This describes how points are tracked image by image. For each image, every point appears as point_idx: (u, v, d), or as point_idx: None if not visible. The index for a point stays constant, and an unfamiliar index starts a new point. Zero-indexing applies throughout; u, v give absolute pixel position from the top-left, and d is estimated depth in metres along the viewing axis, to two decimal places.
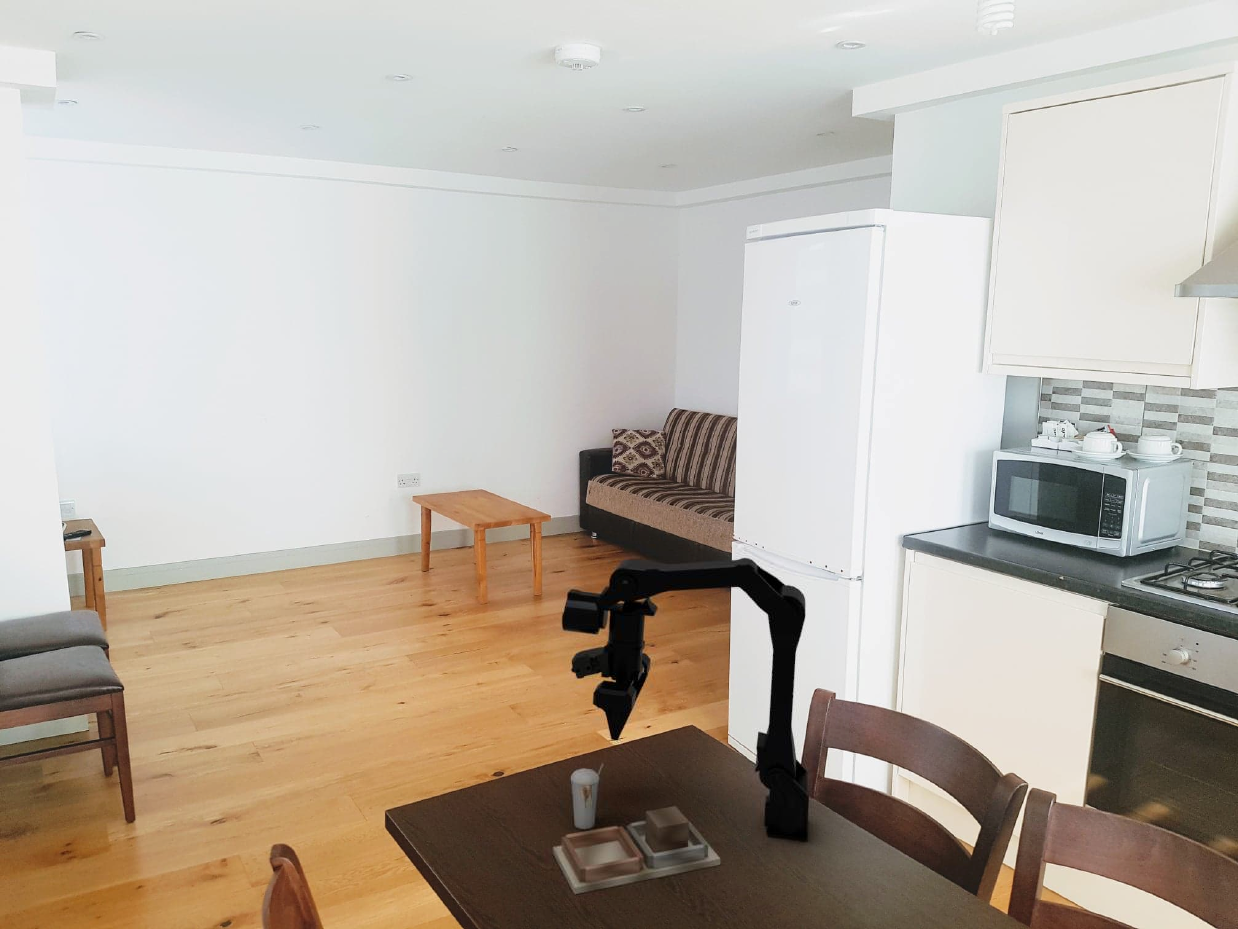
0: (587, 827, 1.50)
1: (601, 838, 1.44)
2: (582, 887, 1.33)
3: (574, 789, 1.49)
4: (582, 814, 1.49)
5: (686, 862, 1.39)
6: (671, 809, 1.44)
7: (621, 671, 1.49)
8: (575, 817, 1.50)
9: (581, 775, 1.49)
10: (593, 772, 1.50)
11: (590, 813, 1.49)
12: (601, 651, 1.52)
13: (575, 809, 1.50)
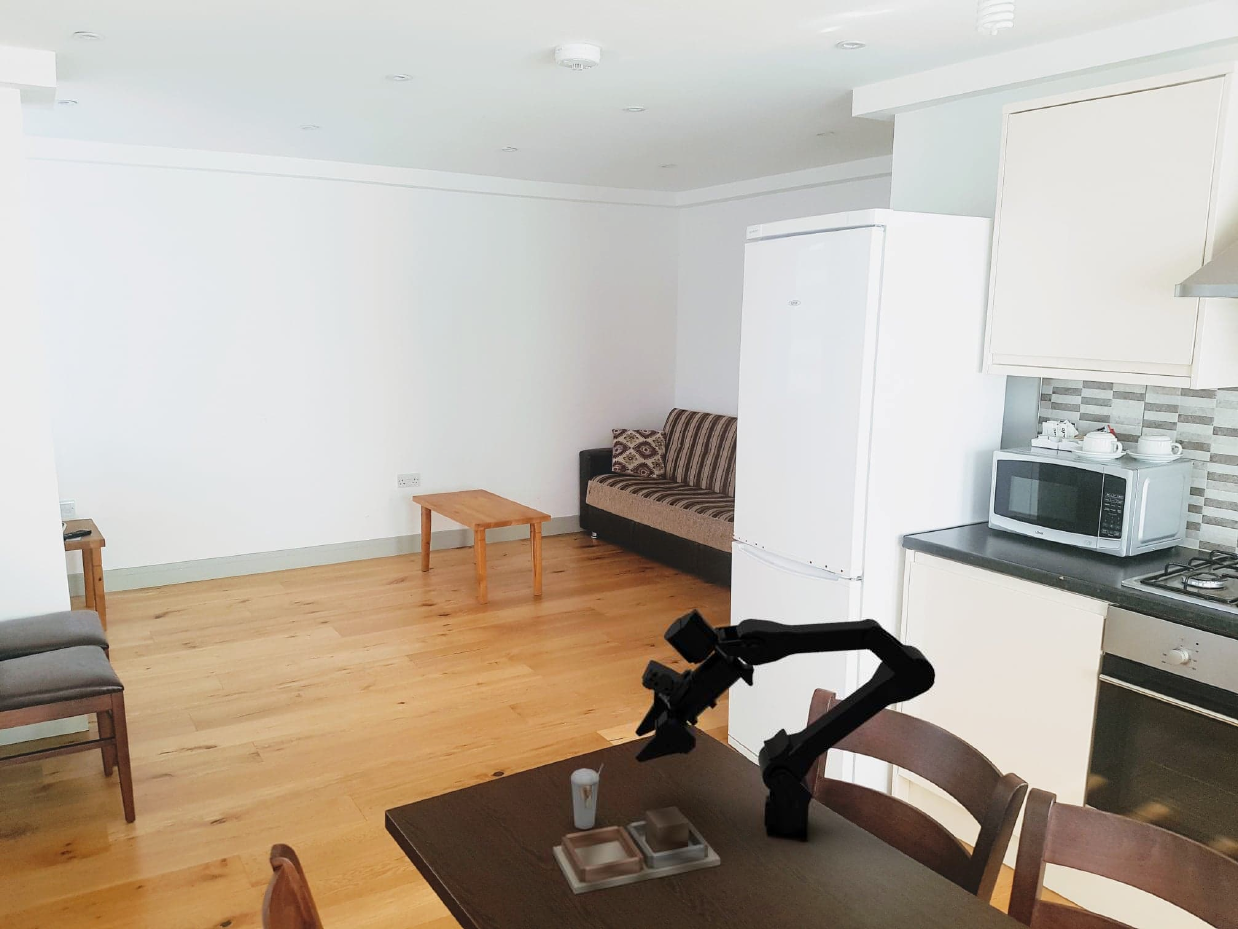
0: (587, 827, 1.50)
1: (601, 838, 1.44)
2: (582, 887, 1.33)
3: (574, 789, 1.49)
4: (582, 814, 1.49)
5: (686, 862, 1.39)
6: (671, 809, 1.44)
7: (688, 709, 1.45)
8: (575, 817, 1.50)
9: (581, 775, 1.49)
10: (593, 772, 1.50)
11: (590, 813, 1.49)
12: (679, 678, 1.47)
13: (575, 809, 1.50)
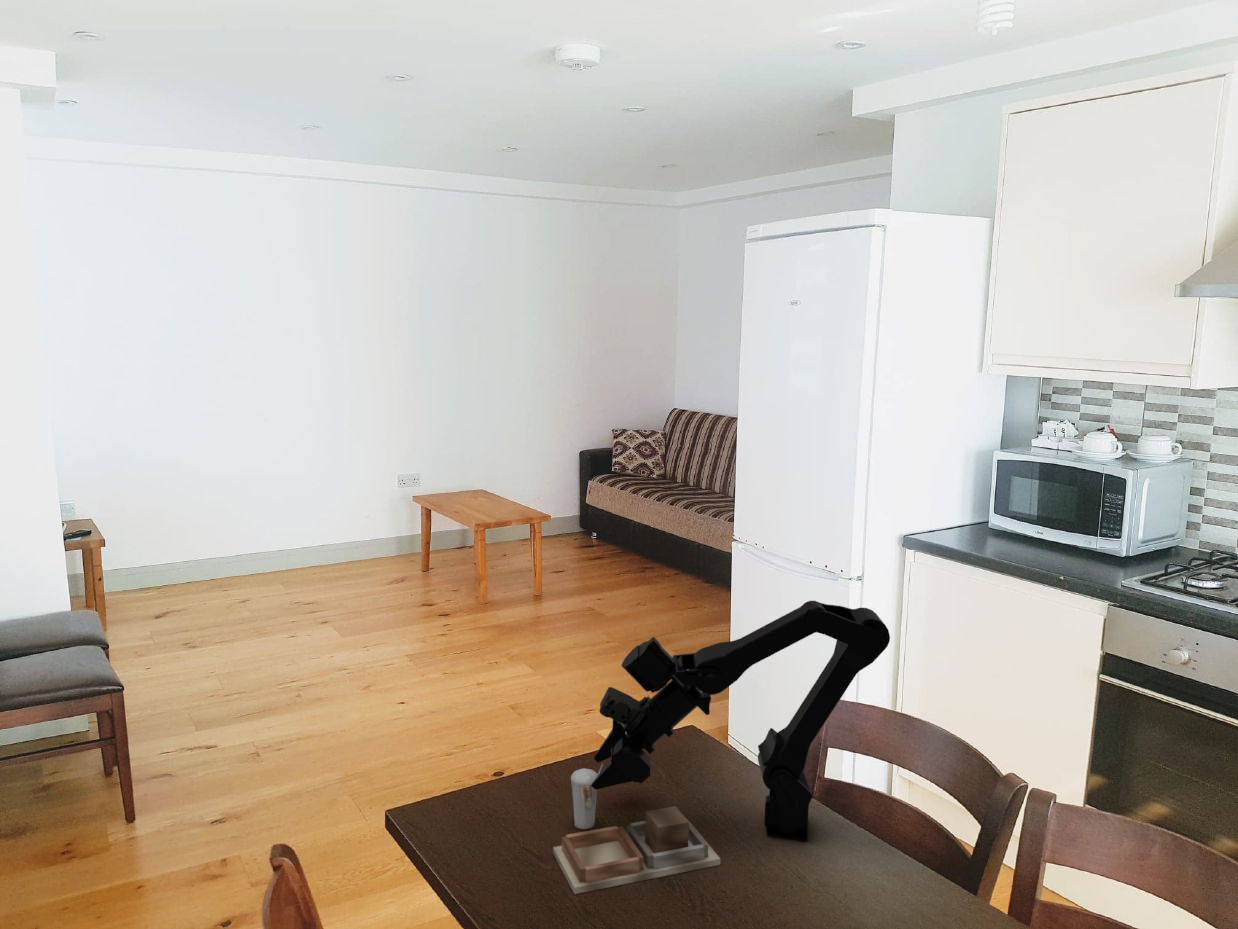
0: (587, 827, 1.50)
1: (601, 838, 1.44)
2: (582, 887, 1.33)
3: (574, 789, 1.49)
4: (582, 814, 1.49)
5: (686, 862, 1.39)
6: (671, 809, 1.44)
7: (644, 737, 1.46)
8: (575, 817, 1.50)
9: (581, 775, 1.49)
10: (593, 772, 1.50)
11: (590, 813, 1.49)
12: (636, 705, 1.48)
13: (575, 809, 1.50)
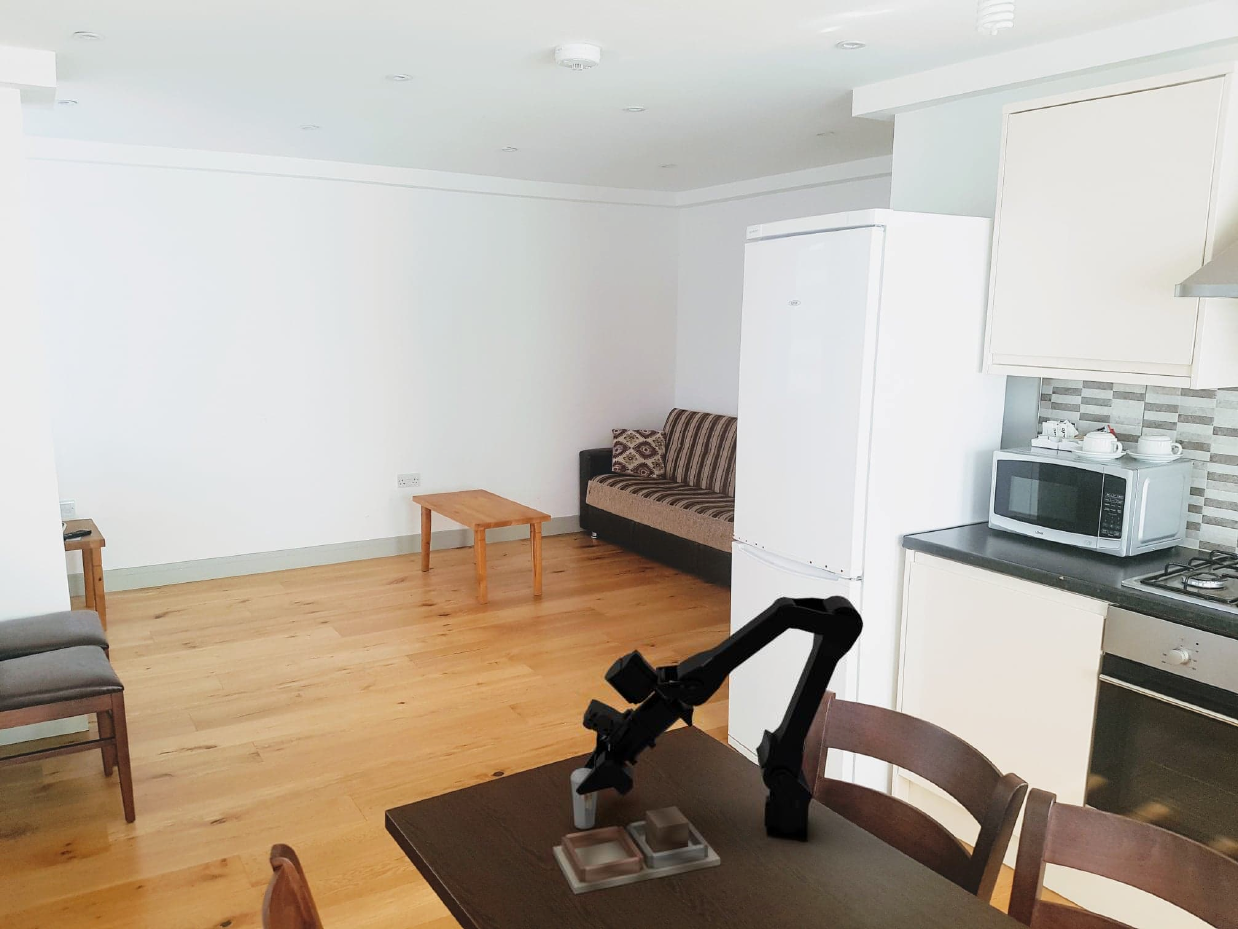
0: (587, 827, 1.50)
1: (601, 838, 1.44)
2: (582, 887, 1.33)
3: (574, 788, 1.49)
4: (582, 813, 1.49)
5: (686, 862, 1.39)
6: (671, 809, 1.44)
7: (628, 749, 1.46)
8: (575, 817, 1.50)
9: (581, 774, 1.49)
10: None
11: (590, 812, 1.49)
12: (619, 718, 1.48)
13: (575, 809, 1.50)
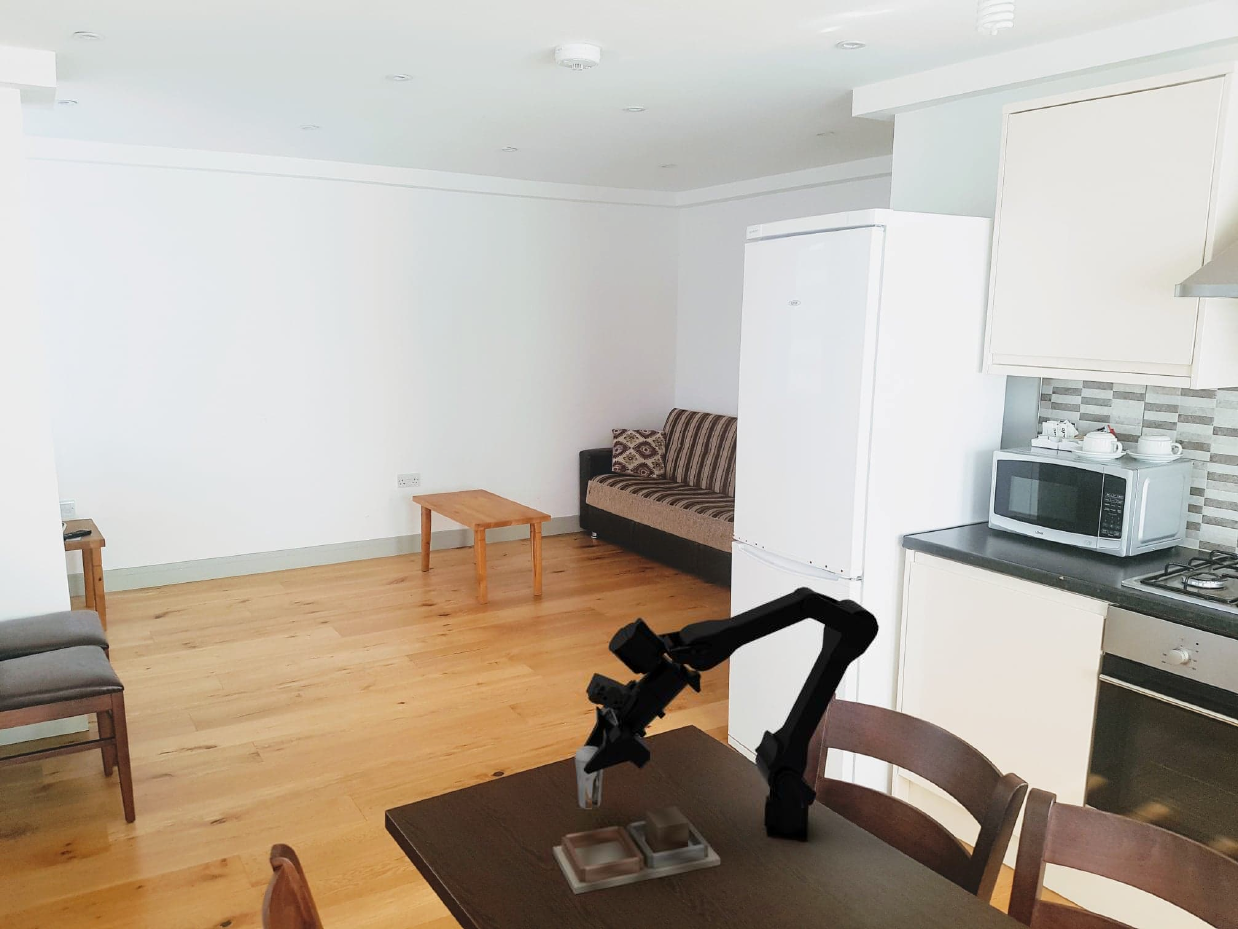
0: (594, 806, 1.43)
1: (601, 838, 1.44)
2: (582, 887, 1.33)
3: (580, 768, 1.42)
4: (589, 793, 1.42)
5: (686, 862, 1.39)
6: (671, 809, 1.44)
7: (637, 721, 1.41)
8: (581, 797, 1.43)
9: (587, 753, 1.42)
10: None
11: (597, 791, 1.43)
12: (625, 690, 1.42)
13: (581, 789, 1.43)
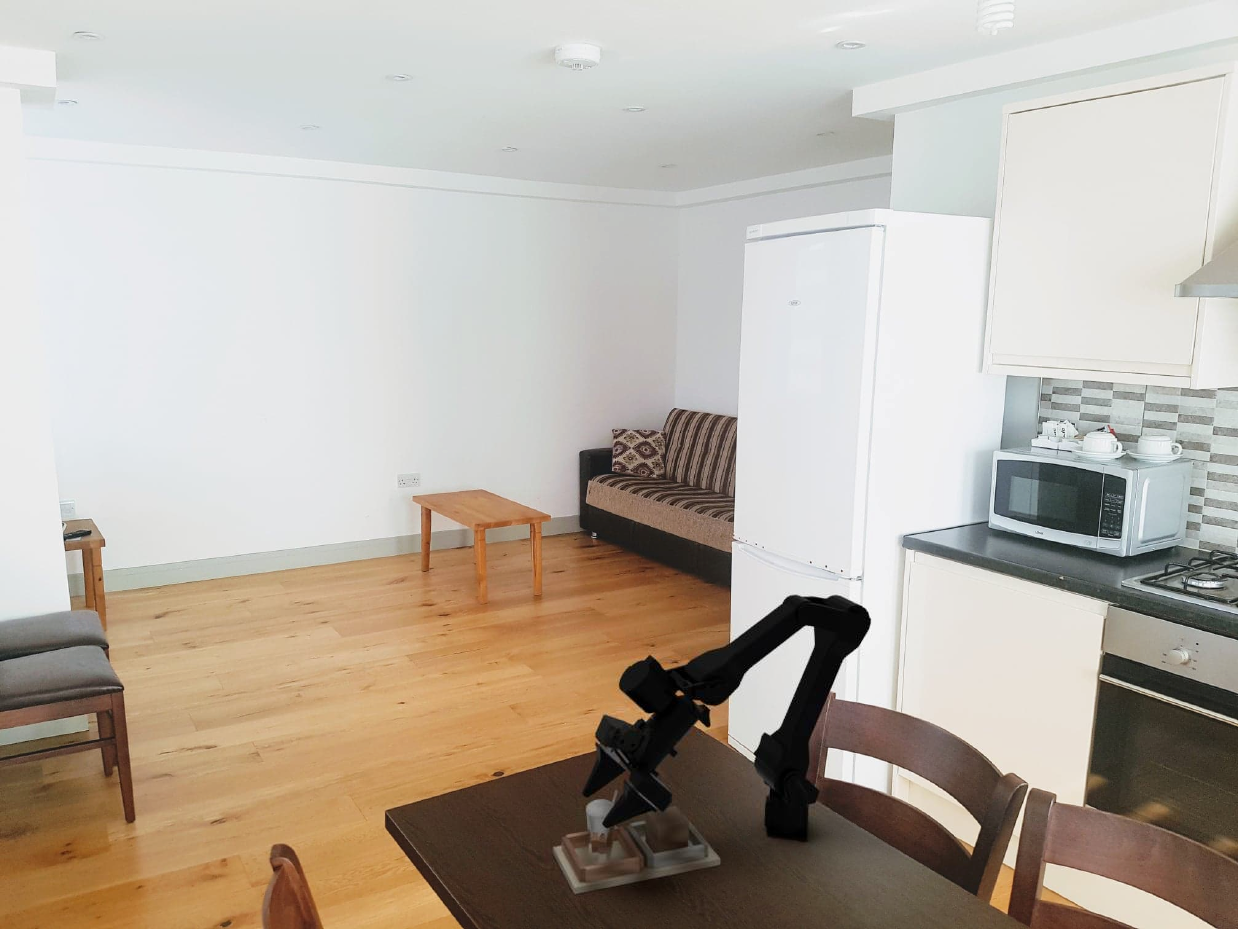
0: None
1: None
2: (582, 887, 1.33)
3: (594, 824, 1.36)
4: (603, 849, 1.37)
5: (686, 862, 1.39)
6: (671, 809, 1.44)
7: (651, 762, 1.37)
8: (594, 854, 1.38)
9: (600, 807, 1.37)
10: (609, 802, 1.39)
11: (610, 846, 1.38)
12: (636, 730, 1.38)
13: (594, 845, 1.37)
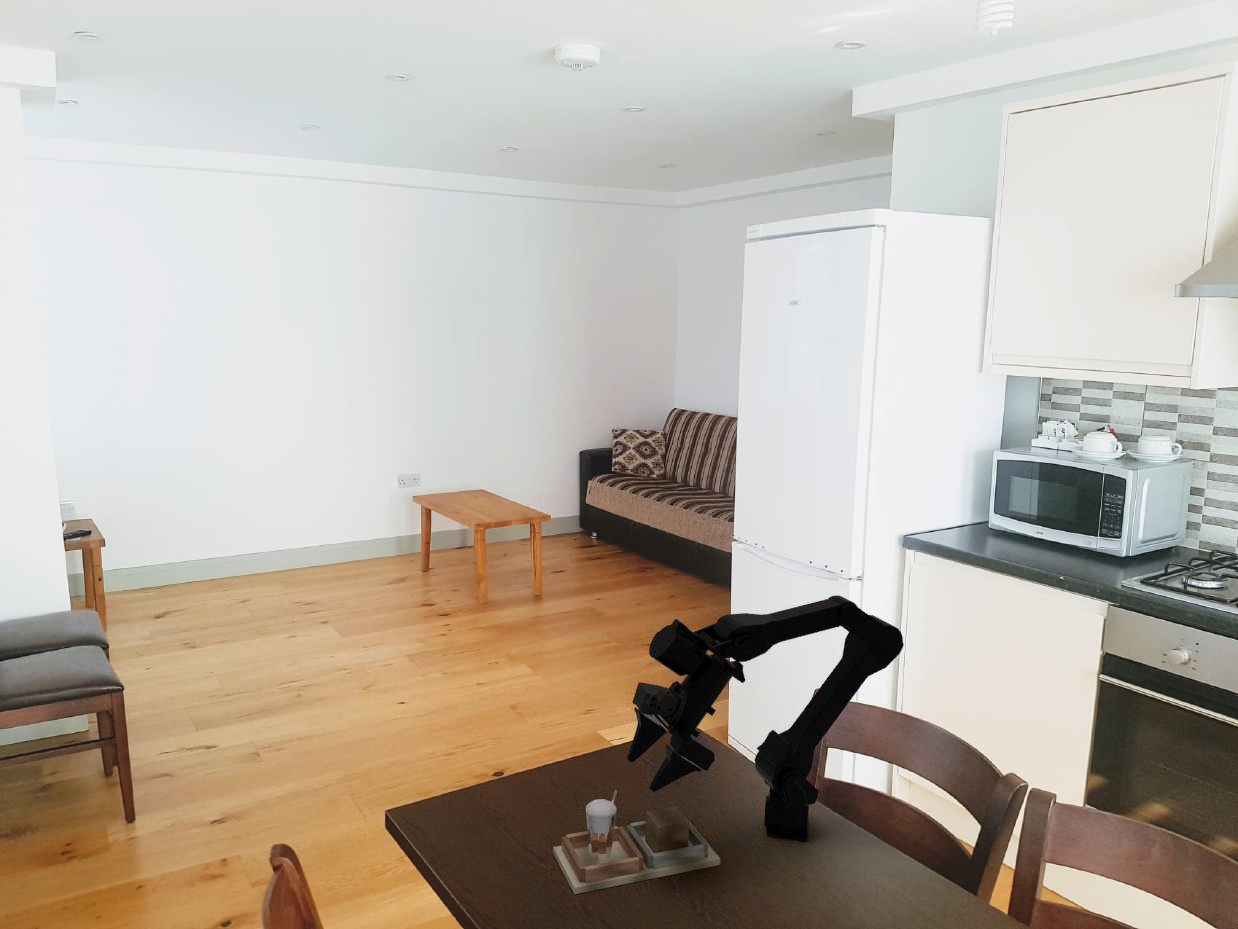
0: None
1: None
2: (582, 887, 1.33)
3: (594, 824, 1.36)
4: (603, 849, 1.37)
5: (686, 862, 1.39)
6: (671, 809, 1.44)
7: (690, 723, 1.39)
8: (593, 854, 1.38)
9: (600, 807, 1.37)
10: (608, 801, 1.39)
11: (610, 846, 1.38)
12: (672, 694, 1.40)
13: (594, 845, 1.37)
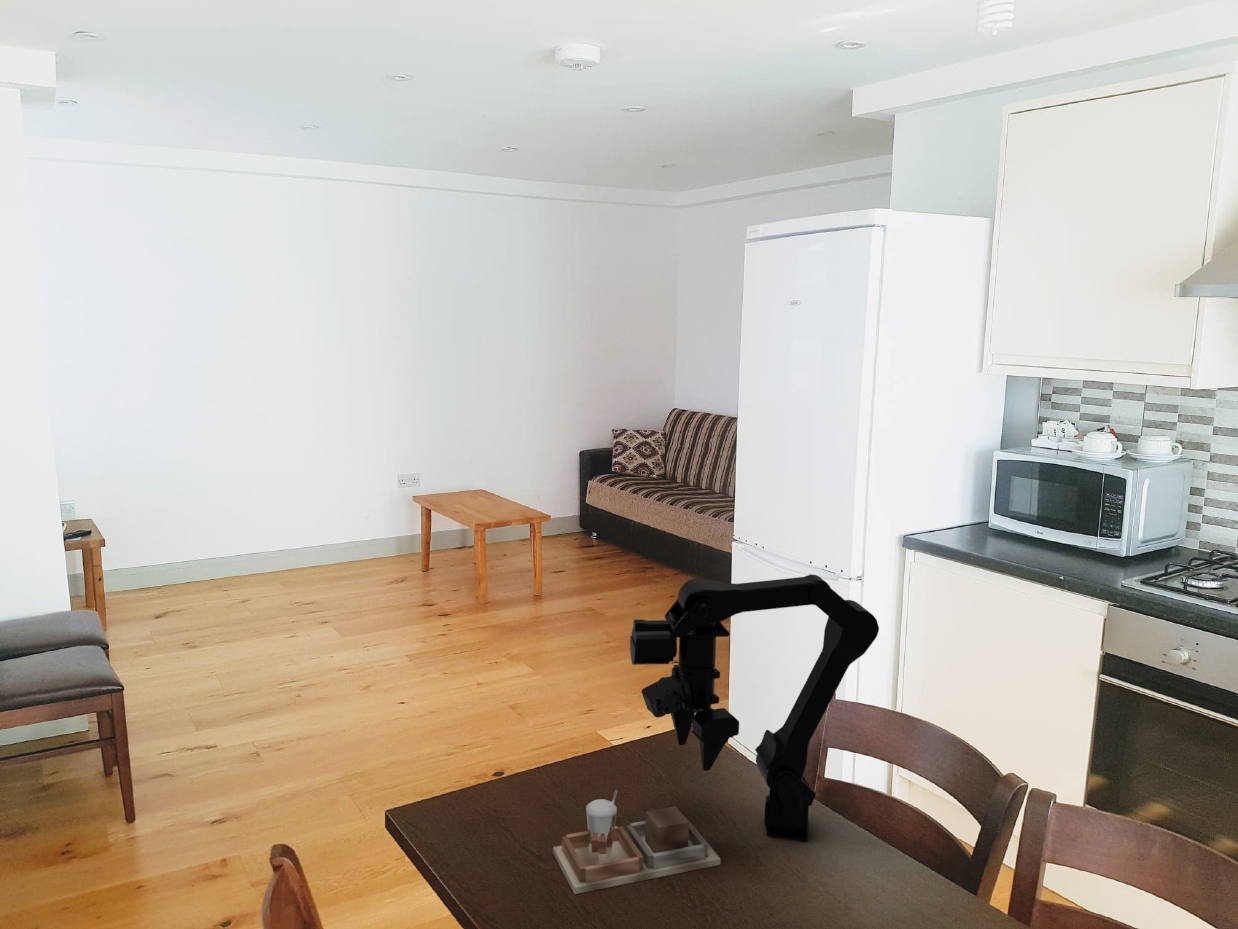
0: None
1: None
2: (582, 887, 1.33)
3: (594, 824, 1.36)
4: (603, 849, 1.37)
5: (686, 862, 1.39)
6: (671, 809, 1.44)
7: (704, 697, 1.43)
8: (594, 854, 1.38)
9: (600, 807, 1.37)
10: (609, 801, 1.39)
11: (610, 846, 1.38)
12: (675, 682, 1.43)
13: (594, 845, 1.37)
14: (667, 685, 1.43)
